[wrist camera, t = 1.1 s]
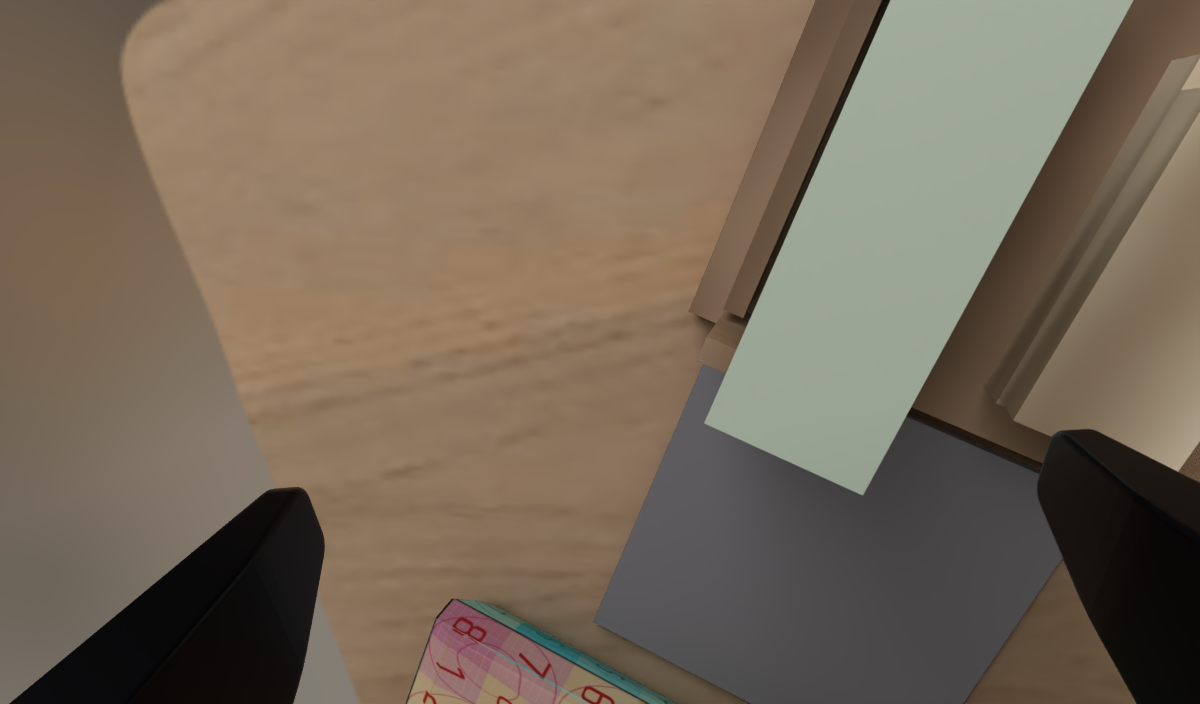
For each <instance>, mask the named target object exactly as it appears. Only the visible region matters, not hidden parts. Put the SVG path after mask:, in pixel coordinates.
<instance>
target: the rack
mask: <svg viewBox="0 0 1200 704" xmlns="http://www.w3.org/2000/svg"><path fill="white" fill-rule="evenodd" d="M889 2H890V0H816V1H815V3H814V6H813V8H812V11H811V13H810V16H809V18H808V20H807V23H806V25H805V28H804V30H803V33H802V35H801V38H800V40H799V43H798V45H797V47H796V50H795V52H794V55H793V57H792V60H791V62H790V65H789V67H788V70H787V72H786V74H785V77H784V79H783V82H782V84H781V87H780V89H779V92H778V94H777V96H776V99H775V101H774V104H773V106H772V109H771V111H770V114H769V116H768V119H767V121H766V123H765V126H764V128H763V131H762V133H761V136H760V138H759V141H758V143H757V146H756V148H755V150H754V153H753V155H752V158H751V160H750V163H749V165H748V168H747V170H746V173H745V175H744V177H743V180H742V182H741V185H740V187H739V190H738V192H737V195H736V197H735V199H734V202H733V204H732V207H731V209H730V212H729V214H728V217H727V219H726V222H725V224H724V226H723V229H722V231H721V234H720V236H719V239H718V241H717V244H716V246H715V249H714V251H713V253H712V256H711V258H710V261H709V263H708V266H707V268H706V271H705V273H704V276H703V278H702V280H701V283H700V285H699V288H698V290H697V293H696V295H695V298H694V300H693V303H692V305H691V307H690V310H689V312H691V313H693V314H696V315H698V316H700V317H703V318H705V319H707V320H710V321H712V322H714V323H716V324H715V325H714V327H713V328H712V329H711V331H710V332H709V334H708V335H707V337H706V339H705V341H704V344H703V346H702V348H701V351H700V353H699V355H698V358H697V360H696V361H698V362H701V363H703V364H705V365H707V366H710V367H712V368H714V369H717V370H719V371H721V372H723V373H726V372H727V370H728V368H729V366H730V363H731V361H732V359H733V357H734V354H735V352H736V350H737V347H738V345H739V343H740V341H741V338H742V336H743V334H744V332H745V329H746V327H747V325H748V323H749V320H750V318H751V316H752V313H753V311H754V309H755V307H756V304H757V302H758V300H759V298H760V295H761V293H762V291H763V288H764V286H765V284H766V282H767V279H768V277H769V275H770V273H771V270H772V268H773V266H774V263H775V261H776V259H777V257H778V254H779V252H780V250H781V248H782V245H783V243H784V241H785V238H786V236H787V234H788V232H789V229H790V227H791V225H792V223H793V220H794V218H795V216H796V214H797V211H798V209H799V207H800V204H801V202H802V200H803V198H804V195H805V193H806V191H807V189H808V186H809V184H810V182H811V179H812V177H813V175H814V173H815V170H816V168H817V166H818V164H819V161H820V159H821V157H822V154H823V152H824V150H825V148H826V145H827V143H828V141H829V139H830V136H831V134H832V132H833V129H834V127H835V125H836V123H837V120H838V118H839V116H840V114H841V111H842V109H843V107H844V104H845V102H846V100H847V98H848V95H849V93H850V91H851V89H852V86H853V84H854V82H855V80H856V77H857V75H858V73H859V70H860V68H861V66H862V64H863V61H864V59H865V57H866V55H867V52H868V50H869V48H870V45H871V43H872V41H873V39H874V36H875V34H876V32H877V30H878V27H879V25H880V23H881V20H882V18H883V16H884V14H885V11H886V9H887V7H888V5H889ZM1199 54H1200V0H1133V2H1132V4H1131V6H1130V8H1129V9H1128V11H1127V13H1126V15H1125V17H1124V19H1123V20H1122V22H1121V24H1120V26H1119V28H1118V30H1117V31H1116V33H1115V35H1114V37H1113V39H1112V41H1111V42H1110V44H1109V46H1108V48H1107V50H1106V52H1105V53H1104V55H1103V57H1102V59H1101V61H1100V62H1099V64H1098V66H1097V68H1096V70H1095V72H1094V73H1093V75H1092V77H1091V79H1090V81H1089V83H1088V84H1087V86H1086V88H1085V90H1084V92H1083V94H1082V95H1081V97H1080V99H1079V101H1078V103H1077V105H1076V106H1075V108H1074V110H1073V112H1072V114H1071V116H1070V117H1069V119H1068V121H1067V123H1066V125H1065V127H1064V128H1063V130H1062V132H1061V134H1060V136H1059V138H1058V139H1057V141H1056V143H1055V145H1054V147H1053V148H1052V150H1051V152H1050V154H1049V156H1048V158H1047V159H1046V161H1045V163H1044V165H1043V167H1042V169H1041V170H1040V172H1039V174H1038V176H1037V178H1036V180H1035V181H1034V183H1033V185H1032V187H1031V189H1030V191H1029V192H1028V194H1027V196H1026V198H1025V200H1024V202H1023V203H1022V205H1021V207H1020V209H1019V211H1018V213H1017V214H1016V216H1015V218H1014V220H1013V222H1012V224H1011V225H1010V227H1009V229H1008V231H1007V233H1006V234H1005V236H1004V238H1003V240H1002V242H1001V244H1000V245H999V247H998V249H997V251H996V253H995V255H994V256H993V258H992V260H991V262H990V264H989V266H988V267H987V269H986V271H985V273H984V275H983V277H982V278H981V280H980V282H979V284H978V286H977V288H976V289H975V291H974V293H973V295H972V297H971V299H970V300H969V302H968V304H967V306H966V308H965V309H964V311H963V313H962V315H961V317H960V319H959V320H958V322H957V324H956V326H955V328H954V330H953V331H952V333H951V335H950V337H949V339H948V341H947V342H946V344H945V346H944V348H943V350H942V352H941V353H940V355H939V357H938V359H937V361H936V363H935V364H934V366H933V368H932V370H931V372H930V374H929V375H928V377H927V379H926V381H925V383H924V385H923V386H922V388H921V390H920V392H919V394H918V395H917V397H916V399H915V401H914V403H913V405H912V406H911V407H912V408H914V409H917V410H919V411H921V412H924V413H926V414H928V415H931V416H933V417H935V418H938V419H940V420H942V421H945V422H947V423H949V424H952V425H954V426H956V427H959V428H961V429H963V430H966V431H968V432H970V433H973V434H975V435H977V436H980V437H982V438H984V439H987V440H989V441H991V442H994V443H996V444H998V445H1000V446H1003V447H1005V448H1007V449H1010V450H1012V451H1014V452H1017V453H1019V454H1021V455H1024V456H1026V457H1028V458H1031V459H1033V460H1035V461H1038V462H1040V463H1042V464H1043V461H1044V457H1045V454H1046V450H1047V447H1048V444H1049V441H1050V438H1051V436H1049V435H1046V434H1044V433H1042V432H1039V431H1037V430H1034V429H1032V428H1030V427H1027V426H1025V425H1023V424H1020V423H1018V422H1015V421H1013V420H1012V418H1011V416H1010V414H1009V412H1008V411H1007V409H1006V407H1003V406H1001V405H999V404H996V402H995V401H994V399H993V397H992V395H991V393H990V391H989V389H988V387H987V385H986V383H985V382H986V381H987V379H988V377H989V375H990V374H991V372H992V370H993V369H994V367H995V365H996V363H997V362H998V360H999V358H1000V356H1001V355H1002V353H1003V351H1004V350H1005V348H1006V346H1007V344H1008V343H1009V341H1010V339H1011V337H1012V336H1013V334H1014V332H1015V331H1016V329H1017V327H1018V325H1019V324H1020V322H1021V320H1022V318H1023V317H1024V315H1025V313H1026V312H1027V310H1028V308H1029V306H1030V305H1031V303H1032V301H1033V299H1034V298H1035V296H1036V294H1037V293H1038V291H1039V289H1040V287H1041V286H1042V284H1043V282H1044V280H1045V279H1046V277H1047V275H1048V273H1049V272H1050V270H1051V268H1052V267H1053V265H1054V263H1055V261H1056V260H1057V258H1058V256H1059V254H1060V253H1061V251H1062V249H1063V248H1064V246H1065V244H1066V242H1067V241H1068V239H1069V237H1070V235H1071V234H1072V232H1073V230H1074V229H1075V227H1076V225H1077V223H1078V222H1079V220H1080V218H1081V216H1082V215H1083V213H1084V211H1085V210H1086V208H1087V206H1088V204H1089V203H1090V201H1091V199H1092V197H1093V196H1094V194H1095V192H1096V191H1097V189H1098V187H1099V185H1100V184H1101V182H1102V180H1103V178H1104V177H1105V175H1106V173H1107V172H1108V170H1109V168H1110V166H1111V165H1112V163H1113V161H1114V159H1115V158H1116V156H1117V154H1118V152H1119V151H1120V149H1121V147H1122V146H1123V144H1124V142H1125V140H1126V139H1127V137H1128V135H1129V133H1130V132H1131V130H1132V128H1133V127H1134V125H1135V123H1136V121H1137V120H1138V118H1139V116H1140V114H1141V113H1142V111H1143V109H1144V108H1145V106H1146V104H1147V102H1148V101H1149V99H1150V97H1151V95H1152V94H1153V92H1154V90H1155V89H1156V87H1157V85H1158V83H1159V82H1160V80H1161V78H1162V76H1163V75H1164V73H1165V71H1166V70H1167V68H1168V66H1169V64H1170V63H1171V61H1172V60H1176V59H1181V58H1185V57H1190V56H1194V55H1199Z"/></svg>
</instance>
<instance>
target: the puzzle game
mask: <svg viewBox="0 0 1200 704" xmlns="http://www.w3.org/2000/svg"><path fill="white" fill-rule="evenodd" d="M406 704H676V703H674V702H673V701H671V700H669V699H667V698H665V697H663V696H662V695H660V694H658V693H656V692H654V691H652V690H650V689H649V688H647V687H645V686H643V685H641V684H639V683H638V682H636V681H634V680H632V679H630V678H628V677H626V676H625V675H623V674H621V673H619V672H617V671H615V670H614V669H612V668H610V667H608V666H606V665H604V664H602V663H601V662H599V661H597V660H595V659H593V658H591V657H590V656H588V655H586V654H584V653H582V652H580V651H578V650H577V649H575V648H573V647H571V646H569V645H567V644H566V643H564V642H562V641H560V640H558V639H556V638H554V637H553V636H551V635H549V634H547V633H545V632H543V631H541V630H540V629H538V628H536V627H534V626H532V625H530V624H529V623H527V622H525V621H523V620H521V619H519V618H517V617H516V616H514V615H512V614H510V613H508V612H506V611H505V610H503V609H501V608H499V607H497V606H495V605H492V604H488V603H484V602H481V601H477V600H463V599H451V601H450V602H449V603H448V604H447V605H446V606H445V608H444V609H443V610H442V611H441V612H440V613H439V615H438V616H437V617H436V618H435V621H434V624H433V627H432V630H431V632H430V635H429V638H428V641H427V644H426V647H425V650H424V652H423V655H422V658H421V661H420V664H419V667H418V670H417V672H416V675H415V678H414V681H413V684H412V687H411V689H410V692H409V695H408V698H407V701H406Z"/></svg>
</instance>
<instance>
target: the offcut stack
mask: <svg viewBox="0 0 1200 704" xmlns="http://www.w3.org/2000/svg"><path fill="white" fill-rule="evenodd" d="M985 383H986V385H987V387H988V389H989V391H990V393H991V395H992V397H993V399H994V401H995V402H996V404H999V405H1001V406H1003V407H1006V409H1007V411H1008V412H1009V414H1010V416H1011V418H1012V420H1013V421H1015V422H1018V423H1020V424H1023V425H1025V426H1027V427H1030V428H1032V429H1034V430H1037V431H1039V432H1042V433H1044V434H1046V435H1049V436H1051V437H1052V436H1053V434H1055V433H1056V432H1058V431H1062V430H1075V429H1093V430H1096V431H1098V432H1100V433H1102V434H1104V435H1106V436H1108V437H1110V438H1112V439H1114V440H1116V441H1118V442H1120V443H1122V444H1124V445H1126V446H1128V447H1130V448H1132V449H1134V450H1136V451H1138V452H1140V453H1142V454H1144V455H1146V456H1148V457H1150V458H1152V459H1154V460H1156V461H1158V462H1160V463H1162V464H1164V465H1166V466H1168V467H1170V468H1172V469H1174V470H1176V471H1179V470H1180V468H1181V467H1182V465H1183V464H1184V463H1185V461H1186V460H1187V458H1188V457H1189V456H1190V454H1191V453H1192V451H1193V450H1194V449H1195V447H1196V446H1197V444H1198V443H1199V442H1200V54H1199V55H1194V56H1190V57H1185V58H1181V59H1176V60H1172V61H1171V63H1170V64H1169V66H1168V68H1167V70H1166V71H1165V73H1164V75H1163V76H1162V78H1161V80H1160V82H1159V83H1158V85H1157V87H1156V89H1155V90H1154V92H1153V94H1152V95H1151V97H1150V99H1149V101H1148V102H1147V104H1146V106H1145V108H1144V109H1143V111H1142V113H1141V114H1140V116H1139V118H1138V120H1137V121H1136V123H1135V125H1134V127H1133V128H1132V130H1131V132H1130V133H1129V135H1128V137H1127V139H1126V140H1125V142H1124V144H1123V146H1122V147H1121V149H1120V151H1119V152H1118V154H1117V156H1116V158H1115V159H1114V161H1113V163H1112V165H1111V166H1110V168H1109V170H1108V172H1107V173H1106V175H1105V177H1104V178H1103V180H1102V182H1101V184H1100V185H1099V187H1098V189H1097V191H1096V192H1095V194H1094V196H1093V197H1092V199H1091V201H1090V203H1089V204H1088V206H1087V208H1086V210H1085V211H1084V213H1083V215H1082V216H1081V218H1080V220H1079V222H1078V223H1077V225H1076V227H1075V229H1074V230H1073V232H1072V234H1071V235H1070V237H1069V239H1068V241H1067V242H1066V244H1065V246H1064V248H1063V249H1062V251H1061V253H1060V254H1059V256H1058V258H1057V260H1056V261H1055V263H1054V265H1053V267H1052V268H1051V270H1050V272H1049V273H1048V275H1047V277H1046V279H1045V280H1044V282H1043V284H1042V286H1041V287H1040V289H1039V291H1038V293H1037V294H1036V296H1035V298H1034V299H1033V301H1032V303H1031V305H1030V306H1029V308H1028V310H1027V312H1026V313H1025V315H1024V317H1023V318H1022V320H1021V322H1020V324H1019V325H1018V327H1017V329H1016V331H1015V332H1014V334H1013V336H1012V337H1011V339H1010V341H1009V343H1008V344H1007V346H1006V348H1005V350H1004V351H1003V353H1002V355H1001V356H1000V358H999V360H998V362H997V363H996V365H995V367H994V369H993V370H992V372H991V374H990V375H989V377H988V379H987V381H986V382H985Z"/></svg>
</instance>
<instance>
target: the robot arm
mask: <svg viewBox="0 0 1200 704" xmlns="http://www.w3.org/2000/svg"><path fill="white" fill-rule="evenodd" d="M1037 496H1038V500H1039V503H1040V506H1041V508H1042V510H1043V513H1044V515H1045V517H1046V520H1047V522H1048V524H1049V527H1050V529H1051V532H1052V534H1053V536H1054V539H1055V541H1056V543H1057V546H1058V548H1059V550H1060V553H1061V555H1062V557H1063V560H1064V562H1065V564H1066V567H1067V569H1068V571H1069V574H1070V576H1071V579H1072V581H1073V583H1074V586H1075V588H1076V590H1077V593H1078V595H1079V597H1080V600H1081V602H1082V604H1083V606H1084V608H1085V610H1086V612H1087V615H1088V617H1089V619H1090V620H1091V622H1092V624H1093V626H1094V628H1095V630H1096V632H1097V634H1098V636H1099V637H1100V639H1101V641H1102V643H1103V644H1104V646H1105V648H1106V650H1107V652H1108V653H1109V655H1110V657H1111V659H1112V660H1113V662H1114V664H1115V666H1116V668H1117V669H1118V671H1119V673H1120V675H1121V677H1122V678H1123V680H1124V682H1125V684H1126V685H1127V687H1128V689H1129V691H1130V693H1131V694H1132V696H1133V698H1134V700H1135V701H1136V703H1137V704H1200V482H1198V481H1196V480H1194V479H1192V478H1190V477H1188V476H1186V475H1184V474H1182V473H1180V472H1178V471H1176V470H1174V469H1172V468H1170V467H1168V466H1166V465H1164V464H1162V463H1160V462H1158V461H1156V460H1154V459H1152V458H1150V457H1148V456H1146V455H1144V454H1142V453H1140V452H1138V451H1136V450H1134V449H1132V448H1130V447H1128V446H1126V445H1124V444H1122V443H1120V442H1118V441H1116V440H1114V439H1112V438H1110V437H1108V436H1106V435H1104V434H1102V433H1100V432H1098V431H1096V430H1093V429H1075V430H1062V431H1058V432H1056V433H1055V434H1053V436H1052V437H1051V438H1050V441H1049V444H1048V447H1047V450H1046V454H1045V457H1044V461H1043V464H1042V467H1041V471H1040V474H1039V478H1038V482H1037ZM324 551H325V543H324V536H323V532H322V530H321V527H320V524H319V522H318V519H317V516H316V514H315V511H314V509H313V506H312V503H311V501H310V498H309V496H308V494H307V492H306V491H305V490H304V489H302V488H300V487H290V488H276V489H271V490H268V491H266V492H265V493H263V494H262V495H261V496H260V497H259V498H257V499H256V500H255V501H254V502H252V503H251V504H250V505H249V506H248V507H247V508H245V509H244V510H243V511H242V512H240V513H239V514H238V515H237V516H235V517H234V518H233V519H232V520H231V521H229V522H228V523H227V524H226V525H225V526H223V527H222V528H221V529H220V530H219V531H217V532H216V533H215V534H214V535H213V536H211V537H210V538H209V539H208V540H207V541H205V542H204V543H203V544H202V545H200V546H199V547H198V548H197V549H196V550H194V551H193V552H192V553H191V554H190V555H188V556H187V557H186V558H185V559H184V560H182V561H181V562H180V563H179V564H178V565H176V566H175V567H174V568H173V569H172V570H170V571H169V572H168V573H167V574H165V575H164V576H163V577H162V578H161V579H160V580H158V581H157V582H156V583H155V584H153V585H152V586H151V587H150V588H149V589H147V590H146V591H145V592H144V593H143V594H141V595H140V596H139V597H138V598H136V599H135V600H134V601H133V602H132V603H130V604H129V605H128V606H127V607H126V608H125V609H123V610H122V611H121V612H120V613H118V614H117V615H116V616H115V617H114V618H112V619H111V620H110V621H109V622H107V623H106V624H105V625H104V626H103V627H101V628H100V629H99V630H98V631H97V632H96V633H94V634H93V635H92V636H91V637H90V638H88V639H87V640H86V641H85V642H83V643H82V644H81V645H80V646H79V647H77V648H76V649H75V650H74V651H72V652H71V653H70V654H69V655H68V656H67V657H65V658H64V659H63V660H62V661H60V662H59V663H58V664H57V665H56V666H55V667H53V668H52V669H51V670H50V671H48V672H47V673H46V674H45V675H43V676H42V677H41V678H40V679H39V680H37V681H36V682H35V683H34V684H33V685H31V686H30V687H29V688H28V689H27V690H25V691H24V692H23V693H22V694H21V695H19V696H18V697H17V698H16V699H14V700H13V701H12V702H11V703H10V704H293V703H294V699H295V696H296V692H297V689H298V686H299V682H300V678H301V675H302V671H303V667H304V662H305V657H306V652H307V647H308V641H309V636H310V630H311V625H312V619H313V613H314V608H315V603H316V597H317V591H318V586H319V580H320V575H321V569H322V564H323V558H324Z"/></svg>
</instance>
